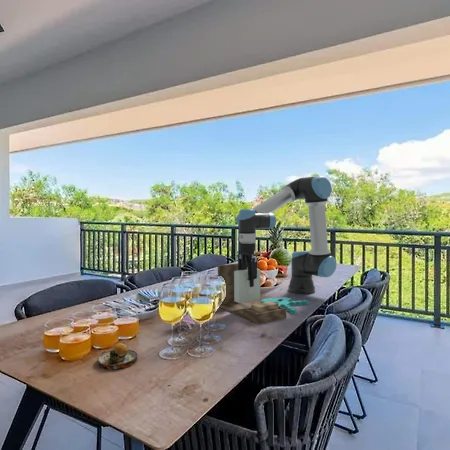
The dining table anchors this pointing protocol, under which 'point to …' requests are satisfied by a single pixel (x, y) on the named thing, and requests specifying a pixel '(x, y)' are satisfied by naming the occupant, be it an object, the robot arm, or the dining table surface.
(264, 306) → the upper offcut
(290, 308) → the teal pixel art cutout
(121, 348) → the small appetizer plate
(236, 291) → the sage sheet
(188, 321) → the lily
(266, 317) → the rack
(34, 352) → the dining table surface
